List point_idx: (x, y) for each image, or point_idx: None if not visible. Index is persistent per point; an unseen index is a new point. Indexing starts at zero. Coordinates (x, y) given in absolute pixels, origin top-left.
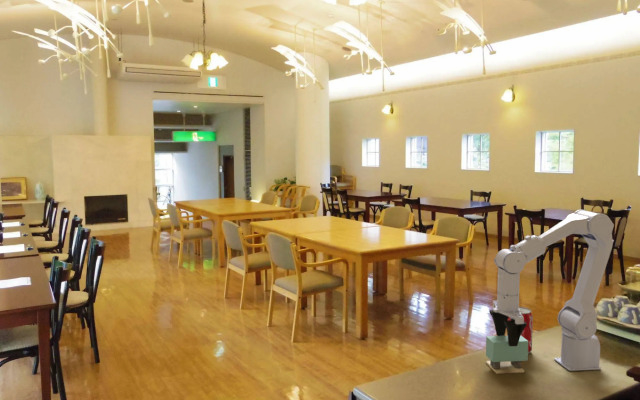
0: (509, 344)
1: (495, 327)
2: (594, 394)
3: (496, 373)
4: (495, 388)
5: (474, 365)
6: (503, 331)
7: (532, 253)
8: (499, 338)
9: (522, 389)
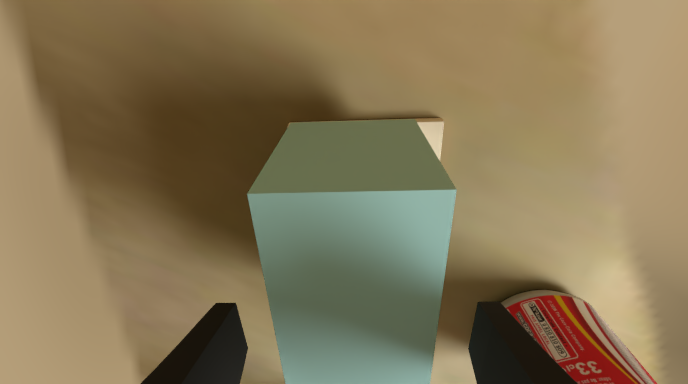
0: (208, 312)
1: (543, 368)
2: (139, 375)
3: (289, 123)
4: (87, 35)
5: (419, 24)
6: (484, 381)
7: None
8: (367, 291)
9: (115, 177)
